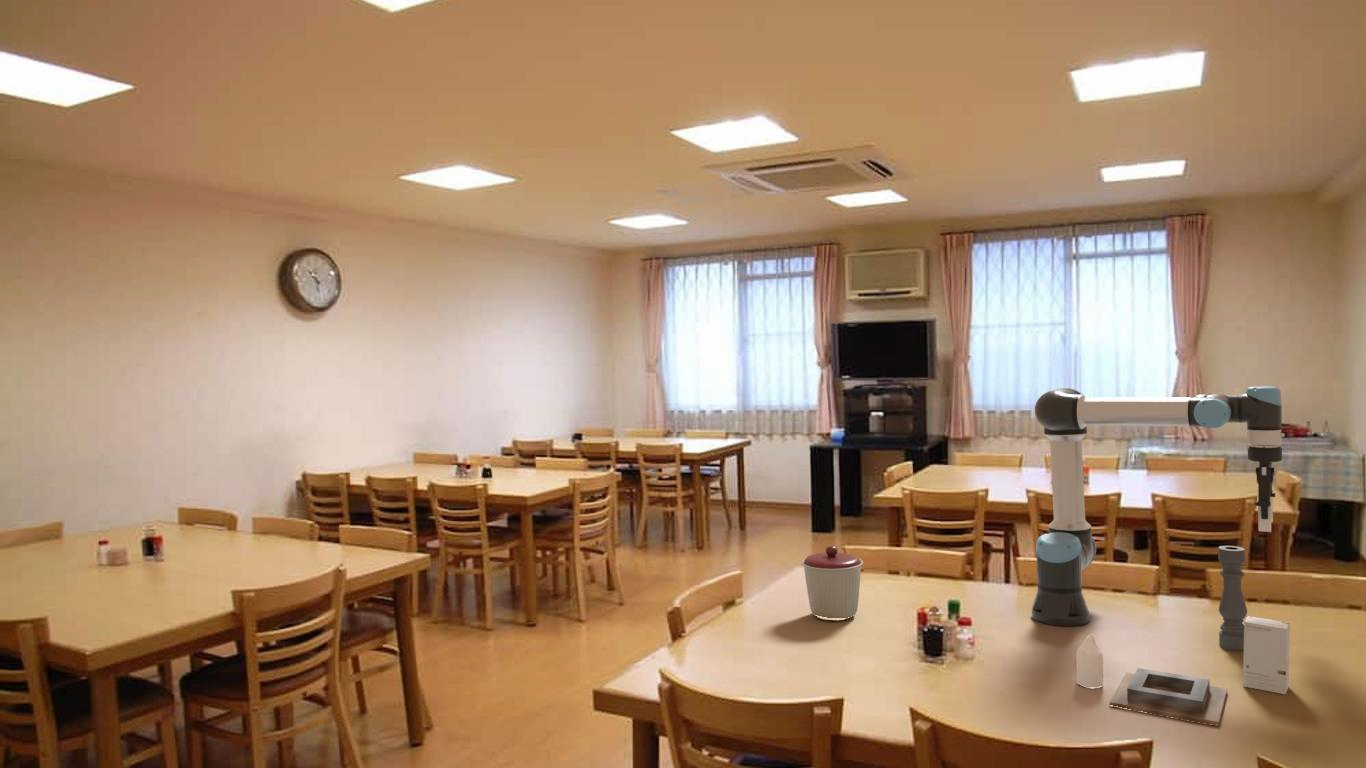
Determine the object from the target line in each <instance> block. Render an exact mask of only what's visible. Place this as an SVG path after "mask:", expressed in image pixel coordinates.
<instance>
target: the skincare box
mask: <svg viewBox="0 0 1366 768" xmlns="http://www.w3.org/2000/svg"><path fill="white" fill-rule="evenodd" d="M1243 625H1244V651H1243V662H1242V663H1243V666H1242V686H1243V687H1244V688H1247V687H1248V689H1253V688H1254V689H1253V690H1259V691H1264V692H1265V691H1266V692H1271V693H1275V694H1280V695H1286V693H1287V691H1288V689H1289V686H1290V685H1289V683H1290V681H1289V680H1290V679H1289V678H1290V677H1289V676H1290V675H1289V674H1290V673H1289V672H1290V641H1291V639H1290V636H1291V635H1290V633H1291V632H1290V631H1291V624H1290V622H1285V621H1281V620H1274V619H1270V618H1263V617H1257V616H1256V617H1255V616H1249V615H1248V616H1247V615H1246V617H1245V619H1244V621H1243Z"/></svg>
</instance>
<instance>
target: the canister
mask: <svg viewBox="0 0 1366 768" xmlns="http://www.w3.org/2000/svg"><path fill="white" fill-rule="evenodd" d="M863 564H864V561H863V560H862V559H861V558H859V557H858V556H856V555H854V554H852V553H847V552H841V551H838V547H836V546H834V545H828V546H827V547H826V548H825V551H824V552H818V553H814V554H810V555H808V556H806V558H803V559H802V560H801V566H803V570H804V571H803V572H804V577H805V586H806V589H807V590H806V591H807V597H808V603H809V608H810V611H811V613H812V614H815V615H818V616H822V617H827V618H848V617H851V616H853V615H854V616H855V615H857V612H858V608H859V607H858V606H859V600H860V599H859V598H860V586H861V583H860V582H861V575H862V574H861V570H862V566H863ZM854 616H853V617H854Z"/></svg>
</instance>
